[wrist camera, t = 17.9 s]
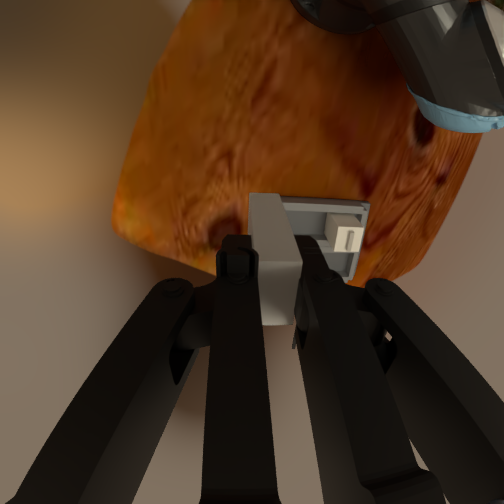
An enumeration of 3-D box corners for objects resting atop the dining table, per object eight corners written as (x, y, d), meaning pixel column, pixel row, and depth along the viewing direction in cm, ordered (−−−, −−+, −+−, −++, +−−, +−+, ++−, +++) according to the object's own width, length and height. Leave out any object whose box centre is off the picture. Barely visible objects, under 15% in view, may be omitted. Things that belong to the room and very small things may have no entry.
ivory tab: (327, 210, 46) (340, 229, 40) (350, 211, 46) (366, 230, 40) (324, 233, 48) (335, 254, 42) (346, 233, 48) (360, 254, 42)
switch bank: (266, 195, 46) (267, 202, 43) (368, 200, 47) (375, 207, 44) (261, 272, 53) (262, 282, 50) (352, 273, 54) (357, 282, 51)
